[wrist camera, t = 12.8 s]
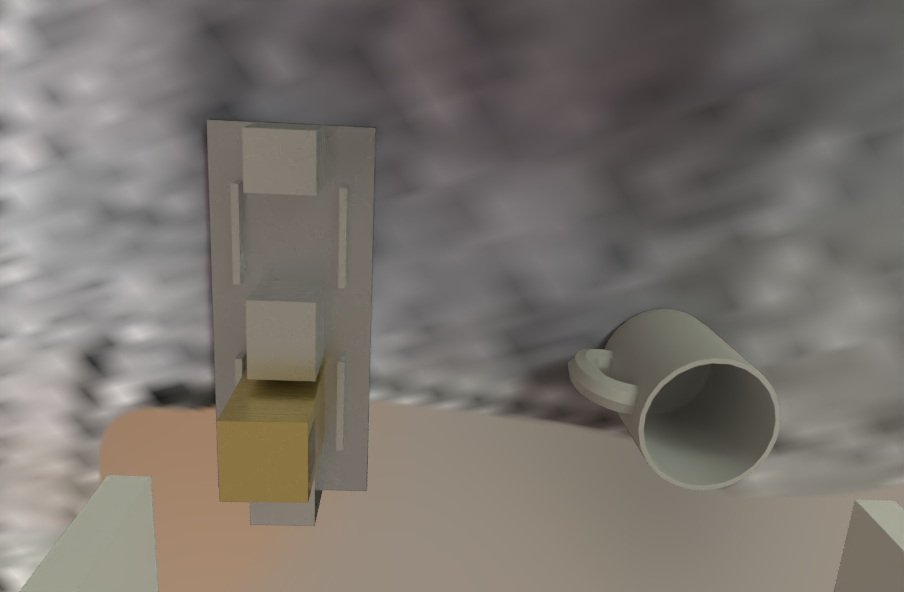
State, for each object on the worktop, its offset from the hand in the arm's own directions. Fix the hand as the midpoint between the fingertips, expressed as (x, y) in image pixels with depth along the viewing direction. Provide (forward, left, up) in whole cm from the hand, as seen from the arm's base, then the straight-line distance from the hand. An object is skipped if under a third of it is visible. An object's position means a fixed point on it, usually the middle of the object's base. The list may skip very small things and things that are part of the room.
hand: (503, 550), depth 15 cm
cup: (+7, +12, -32) cm, 35 cm away
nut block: (+10, -9, -31) cm, 34 cm away
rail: (+5, -8, -32) cm, 33 cm away
